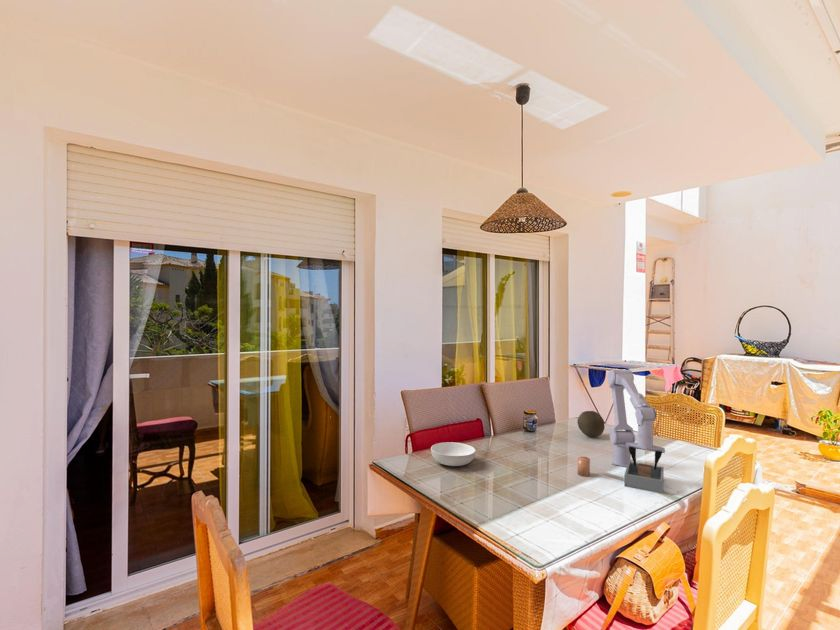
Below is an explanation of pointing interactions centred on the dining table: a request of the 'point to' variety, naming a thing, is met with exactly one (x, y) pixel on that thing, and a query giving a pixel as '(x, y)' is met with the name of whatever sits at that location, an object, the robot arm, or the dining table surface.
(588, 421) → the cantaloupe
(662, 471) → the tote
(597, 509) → the dining table surface
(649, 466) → the walnut block
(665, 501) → the dining table surface
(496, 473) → the dining table surface
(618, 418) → the robot arm
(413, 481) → the dining table surface
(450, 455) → the serving bowl
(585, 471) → the terracotta cylinder
